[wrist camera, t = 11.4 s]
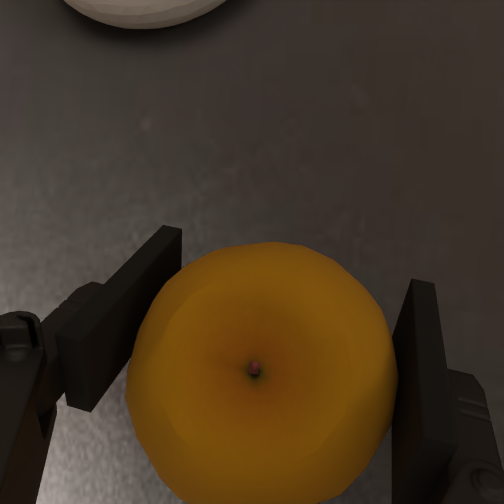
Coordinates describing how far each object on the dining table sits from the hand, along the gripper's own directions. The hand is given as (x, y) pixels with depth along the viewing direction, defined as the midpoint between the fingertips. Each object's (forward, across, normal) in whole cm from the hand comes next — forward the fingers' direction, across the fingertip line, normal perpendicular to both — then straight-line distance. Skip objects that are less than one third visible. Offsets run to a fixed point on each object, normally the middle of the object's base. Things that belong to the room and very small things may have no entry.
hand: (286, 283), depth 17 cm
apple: (0, 0, -5) cm, 5 cm away
